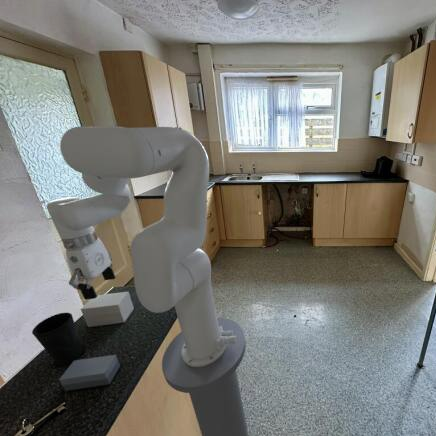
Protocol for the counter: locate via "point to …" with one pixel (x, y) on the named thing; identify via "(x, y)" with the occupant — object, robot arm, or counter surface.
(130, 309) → the white book
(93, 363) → the blue-grey flat block
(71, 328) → the cup
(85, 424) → the counter surface
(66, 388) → the blue-grey rectangular block
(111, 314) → the white book
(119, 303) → the flat grey box
